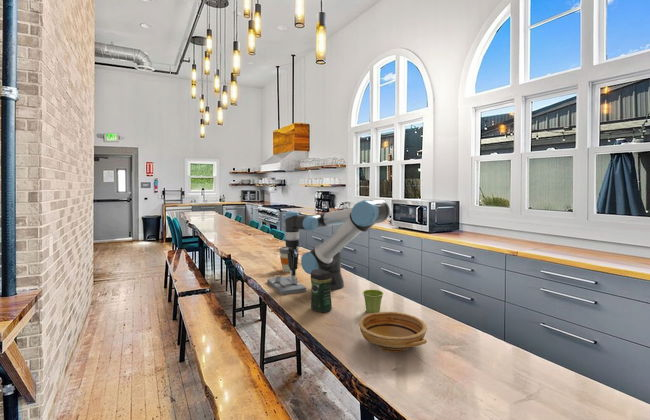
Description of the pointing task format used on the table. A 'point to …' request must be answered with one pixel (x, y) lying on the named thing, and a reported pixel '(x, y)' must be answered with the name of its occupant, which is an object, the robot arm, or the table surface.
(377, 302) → the plant pot
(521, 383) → the table surface
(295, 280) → the fader
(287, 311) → the table surface
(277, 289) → the console
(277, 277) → the fader
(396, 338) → the ceramic bowl
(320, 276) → the coffee jar
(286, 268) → the reusable coffee cup
